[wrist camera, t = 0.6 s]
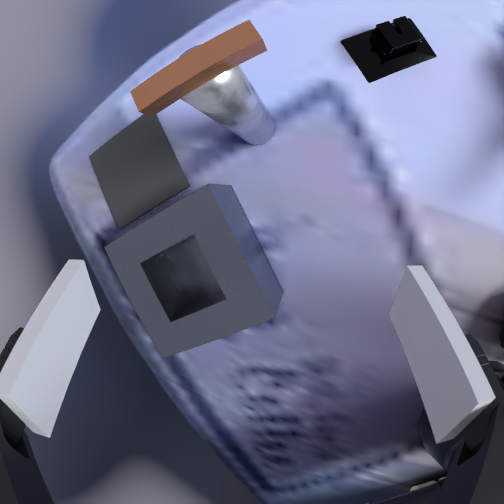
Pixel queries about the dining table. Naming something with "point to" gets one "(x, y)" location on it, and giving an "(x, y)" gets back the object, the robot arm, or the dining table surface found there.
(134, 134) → the rubber mat
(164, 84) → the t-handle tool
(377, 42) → the black notched block
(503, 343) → the power drill
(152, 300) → the block
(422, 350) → the robot arm
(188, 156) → the dining table surface
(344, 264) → the dining table surface
